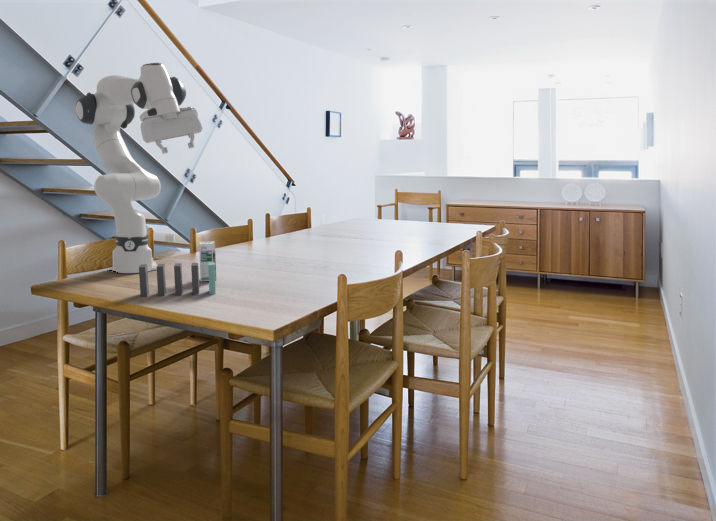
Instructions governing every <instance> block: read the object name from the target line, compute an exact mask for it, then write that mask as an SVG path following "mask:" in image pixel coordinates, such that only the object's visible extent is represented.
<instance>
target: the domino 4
mask: <svg viewBox="0 0 716 521" xmlns="http://www.w3.org/2000/svg"><path fill="white" fill-rule="evenodd" d="M190 270H191V289H192V290H191V292H192V296H193V294H199V295H200V278H199V276H200V273H199V272H200V268H199V262H192V263H191V269H190Z"/></svg>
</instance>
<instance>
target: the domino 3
mask: <svg viewBox="0 0 716 521" xmlns="http://www.w3.org/2000/svg"><path fill="white" fill-rule="evenodd" d="M182 266H183V265H182V262H180V263H178V262H177V263H174V265H173V269H174V270H173V271H174V274H173V275H174V292H175V293H174V294H175V295H177V296H182V295H183V293H184V292H183V291H184V290H183V288H184V287H183V271H182V270H183V269H182V268H183V267H182Z"/></svg>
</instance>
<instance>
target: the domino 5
mask: <svg viewBox="0 0 716 521" xmlns="http://www.w3.org/2000/svg"><path fill="white" fill-rule="evenodd" d="M208 271H209V282H208V293H209V295H216V290H217V288H216V287H217V285H216V281H215V262H209V264H208Z"/></svg>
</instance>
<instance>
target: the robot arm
mask: <svg viewBox="0 0 716 521" xmlns="http://www.w3.org/2000/svg"><path fill="white" fill-rule="evenodd" d="M186 96H187V91H186V87H185V85H184V83H183V82H182V81H181V80H180V79H179V78H177V77H176V76H171V77H170V75H169V72H168V71H167V68H166V66H165V65H164V63H161V62H150V63H145V64H143V65H141V66H140V76H139V78H132V77H128V76H124V75H123V76H122V75H108V76H107V75H106V76H105V77H102V78H101V79H99V81H98V82H97V84H96V92H95V93H91V92H87V93H86V94H85V95H83V96H81V97H79V99H78V100H77V101H76V104H75V112H76V116H77V119H79V120H78V121H80V122H81V123H82V124H87V125H96V126H95V127H94V128H93V129H92V137H93V143H94V145H95V149H96V152H97V154H98V156H99V158H100V161H101V163H102V166H103V167H104V168H105V170H107V171H108V172H110V173H105V174H102V175H99V176H97V178H96V180H95V181H94V186H93V187H94V193H95V195H96V196H97V197H98V199H100V200H101V201H102V202H104V203H105V204H106V205H107V206H108V207H109V208H110V210H111V212H112V213H113V214H112V215H113V217H114V222H115V231H116V236H115V245H116V247H115V248H114V249H113V250H112V266H111V267H109V268H108V271H109V270H114V271H116V272H115V273H117V272H118V273H119V274H139V266H140V265H141V264H147V267H148V272H150V271H157V265H158V264H157V262H156V261H155V258H154V257H153V251H152V249H151V247H149V245H148V244H149V237H148V234H147V224H146V223H147V222H146V216H145V215H144V214H143V213H142V212H140V211H139V210H137V209H136V208H135V209H134V207H133V206H132V202H135V201H148V200H151V199H154V198H157V197H158V196H159V194H160V193H161V189H162V186H161V184H162V183H161V181H160V178H158V176H157V175H155V174H154V173H151V172H149V171H148V170H146V169H144V168H143V167H142V166H141V165H140V164H138V163H137V162H136V160H135V159H134V158H133V157H132V155H131V152H130V151H129V149H128V147H127V144H126V142H125V140H124V138H123V137H122V133H121V129H123V130H124V129H126V128H127V127H128V125H129V124H131V123H132V121H133V119H135V112H136V110H135V105H136V106H137V107H138V108H140V109H141V110H145V111H143V112H142V113H141V114H139V120H140V122H141V124H140V131H141V136H142V140H143V142H145V143H146V144H149V143H155V144H156V146H157V147H158V148H159V149H160V150H161V153H162V155H165V154H168V153H169V150H168V148H167V146H166V147H165V146H164V145H163V144H162V143H163V142H162V141H165V140H166V141H167V140H170V139H175V138H181V137H186V136H188V139H190V140H189V142H188V143H187V146H188V149H193V148H195V143H194V140H195V134H200V133H201V132H202V131H203V126H202V123H201V120H200V119H199V114H198V112H197V111H198V110H197V109H196V108H195V107H192V106H187V107H180V106H181V105H182V104H183V103H184V101H185V99H186ZM134 104H135V105H134Z"/></svg>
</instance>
